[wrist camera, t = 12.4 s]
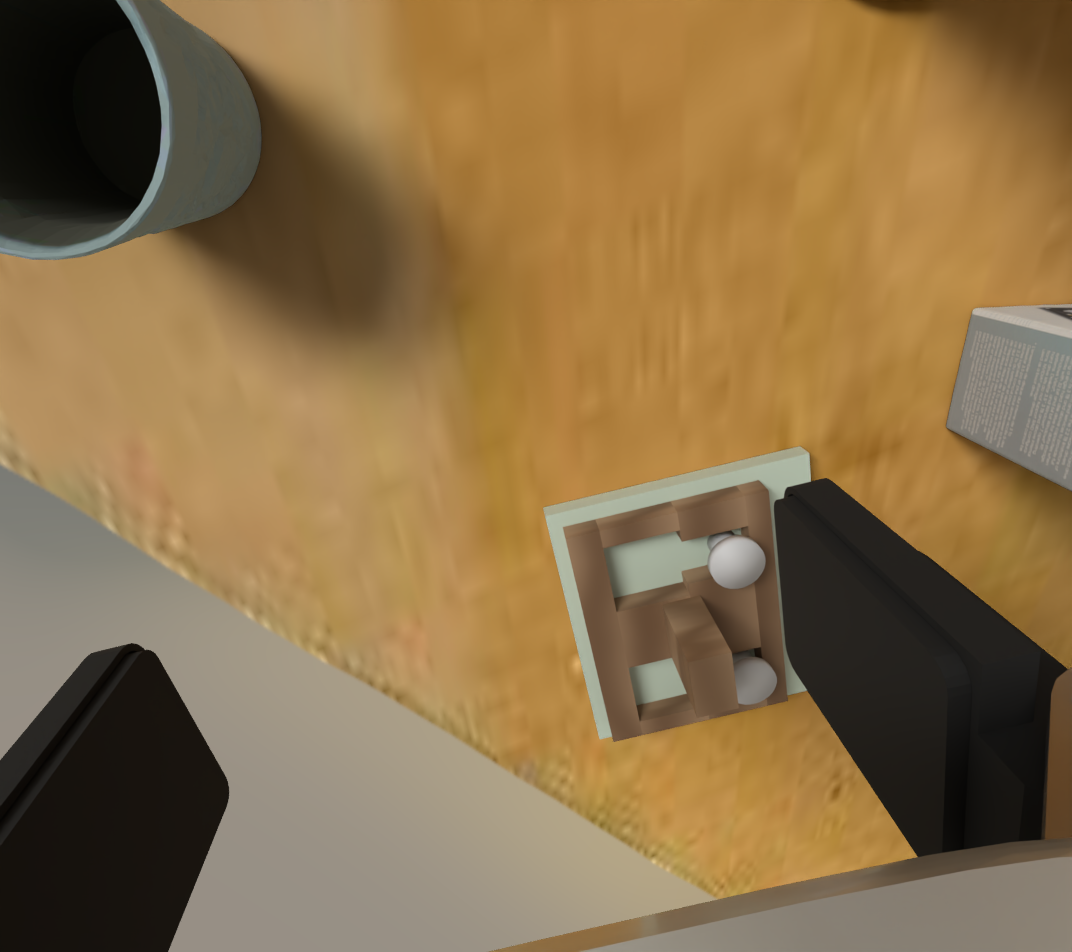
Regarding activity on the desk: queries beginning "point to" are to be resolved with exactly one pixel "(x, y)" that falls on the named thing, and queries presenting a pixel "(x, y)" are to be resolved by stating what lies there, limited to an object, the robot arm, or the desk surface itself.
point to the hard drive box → (1018, 387)
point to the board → (679, 569)
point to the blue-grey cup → (115, 125)
